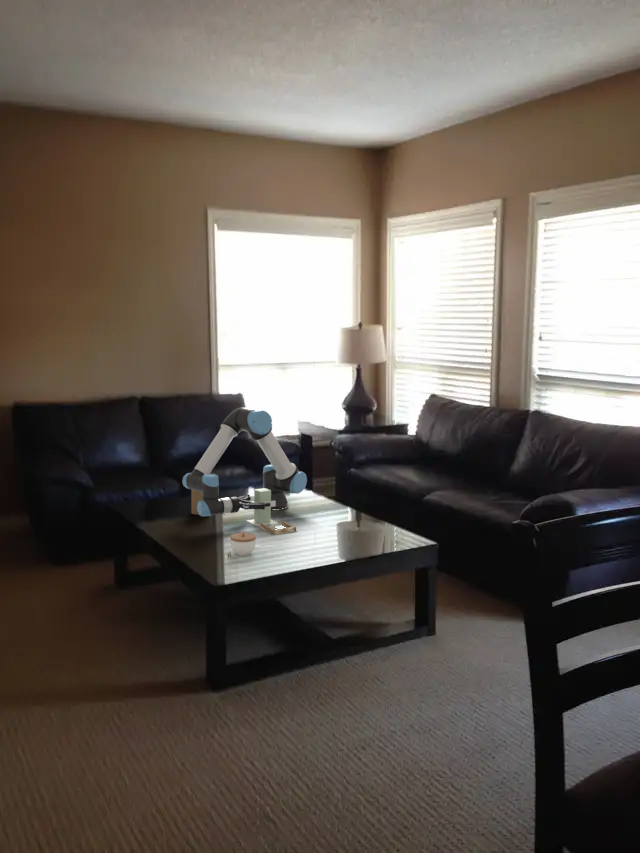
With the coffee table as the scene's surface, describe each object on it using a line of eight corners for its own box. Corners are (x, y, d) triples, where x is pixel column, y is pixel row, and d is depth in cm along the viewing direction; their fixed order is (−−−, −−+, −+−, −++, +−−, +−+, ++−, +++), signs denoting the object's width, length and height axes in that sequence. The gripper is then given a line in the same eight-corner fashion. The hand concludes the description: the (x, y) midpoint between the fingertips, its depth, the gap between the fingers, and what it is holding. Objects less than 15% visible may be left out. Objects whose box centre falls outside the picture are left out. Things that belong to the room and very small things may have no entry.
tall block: (264, 519, 371) (265, 488, 369) (270, 522, 366) (271, 490, 364) (254, 521, 368) (254, 489, 366) (259, 524, 363) (260, 491, 361)
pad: (267, 518, 376) (267, 517, 376) (279, 524, 366) (279, 523, 366) (246, 521, 369) (246, 520, 369) (257, 527, 359) (257, 526, 359)
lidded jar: (260, 553, 319) (261, 532, 318) (241, 559, 311) (242, 537, 310) (244, 548, 326) (244, 527, 325) (225, 553, 319) (225, 532, 317)
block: (214, 511, 388) (215, 473, 385) (210, 515, 378) (210, 477, 376) (196, 510, 389) (196, 472, 386) (190, 515, 379) (190, 476, 377)
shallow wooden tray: (282, 525, 363) (282, 520, 363) (296, 532, 352) (296, 527, 352) (259, 529, 357) (259, 523, 356) (273, 536, 346) (273, 530, 345)
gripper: (218, 507, 367) (256, 502, 379) (240, 519, 346) (280, 513, 358) (218, 492, 366) (256, 487, 378) (241, 503, 345) (281, 498, 357)
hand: (268, 500), depth 368 cm, fingers open, 13 cm apart
